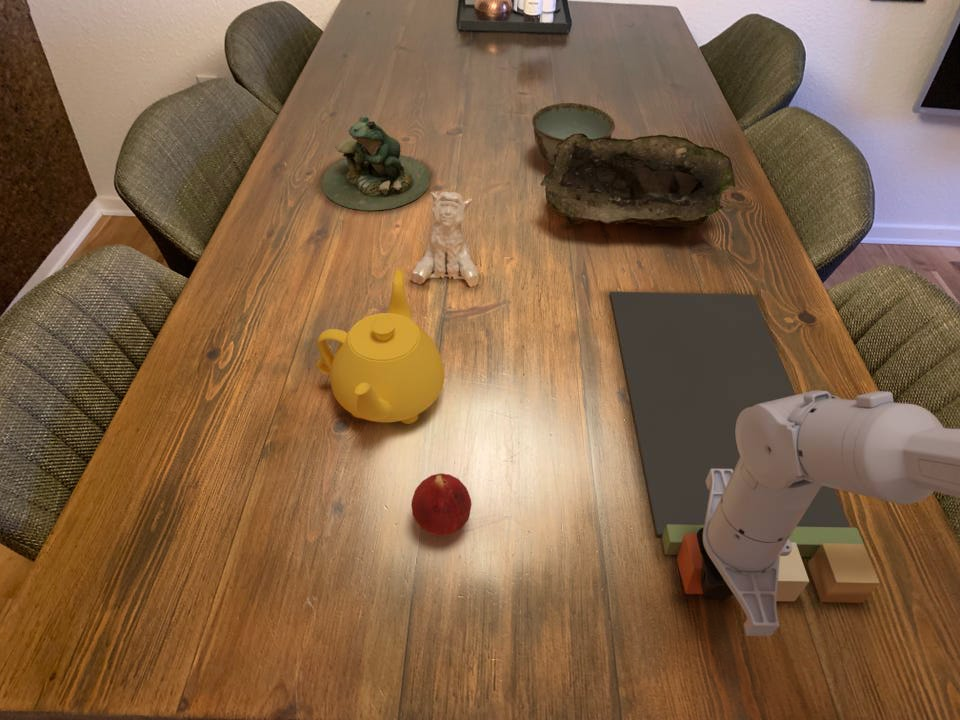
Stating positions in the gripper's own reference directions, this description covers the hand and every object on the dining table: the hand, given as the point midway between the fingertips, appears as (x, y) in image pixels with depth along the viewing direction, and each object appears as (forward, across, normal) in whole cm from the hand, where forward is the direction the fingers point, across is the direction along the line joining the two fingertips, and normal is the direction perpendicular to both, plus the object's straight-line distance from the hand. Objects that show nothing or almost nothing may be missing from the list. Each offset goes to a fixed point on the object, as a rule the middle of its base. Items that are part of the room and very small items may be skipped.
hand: (713, 592), depth 65 cm
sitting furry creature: (+2, +50, +26) cm, 57 cm away
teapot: (+2, +26, +33) cm, 42 cm away
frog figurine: (+2, +73, +39) cm, 83 cm away
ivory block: (+2, +2, -6) cm, 7 cm away
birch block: (+2, +2, -13) cm, 13 cm away
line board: (+2, +26, -6) cm, 27 cm away
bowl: (+2, +80, +6) cm, 80 cm away
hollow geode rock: (+2, +62, -1) cm, 63 cm away
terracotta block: (+2, +3, 0) cm, 4 cm away
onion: (+3, +8, +25) cm, 27 cm away
